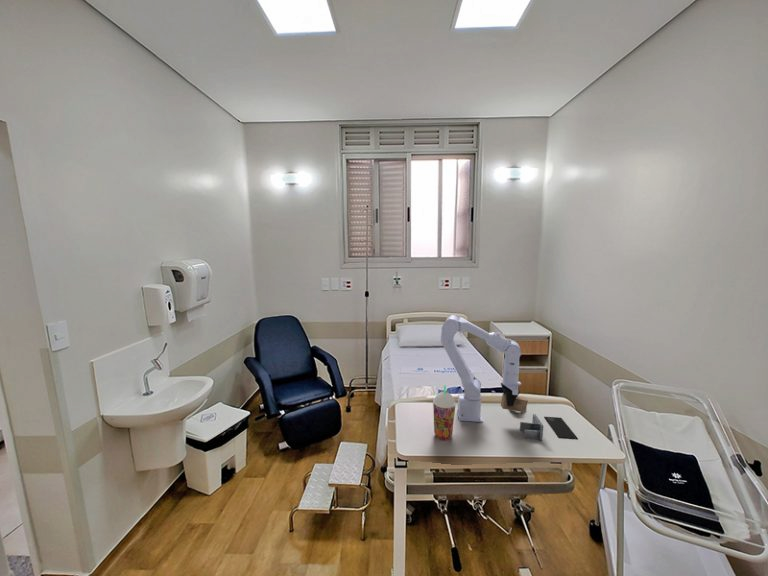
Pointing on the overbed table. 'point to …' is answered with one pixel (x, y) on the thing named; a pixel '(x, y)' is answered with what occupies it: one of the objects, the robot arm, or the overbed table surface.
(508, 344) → the robot arm
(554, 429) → the smartphone
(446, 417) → the smoothie
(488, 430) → the overbed table surface
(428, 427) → the overbed table surface
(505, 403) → the brown rectangular block
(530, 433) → the bracket
